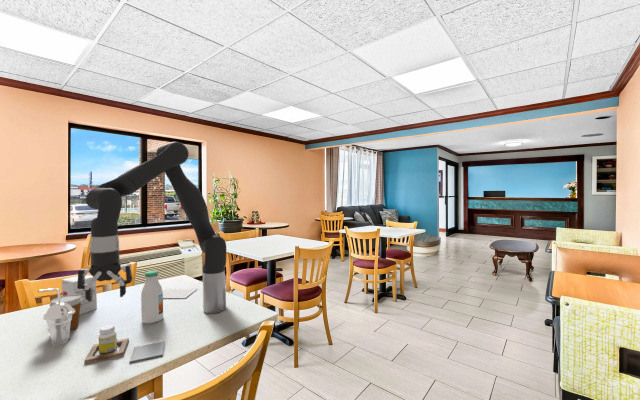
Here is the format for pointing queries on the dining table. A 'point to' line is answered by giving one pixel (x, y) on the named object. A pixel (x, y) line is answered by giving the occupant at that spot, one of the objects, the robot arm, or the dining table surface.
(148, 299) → the milk bottle
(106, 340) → the supplement bottle
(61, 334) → the cup with straw
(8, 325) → the dining table surface
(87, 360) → the wooden square frame
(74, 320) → the disposable coffee cup
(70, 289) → the supplement box
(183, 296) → the white flat square
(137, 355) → the coaster
